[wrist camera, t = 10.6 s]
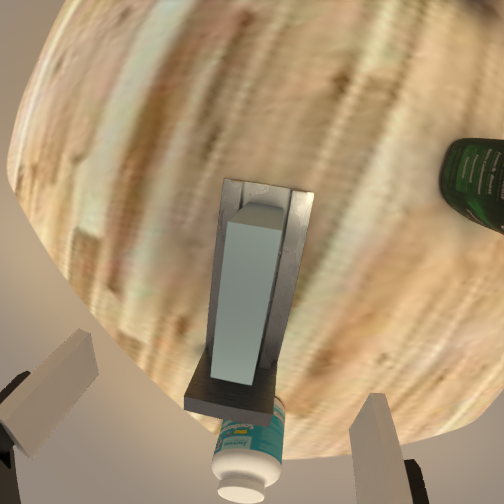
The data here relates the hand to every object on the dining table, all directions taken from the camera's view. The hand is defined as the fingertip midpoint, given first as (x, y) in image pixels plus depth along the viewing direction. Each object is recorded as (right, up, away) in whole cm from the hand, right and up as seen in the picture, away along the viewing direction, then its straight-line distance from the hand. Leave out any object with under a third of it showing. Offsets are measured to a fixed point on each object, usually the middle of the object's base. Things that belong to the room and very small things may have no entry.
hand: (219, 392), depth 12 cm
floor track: (+1, +3, +17) cm, 17 cm away
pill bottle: (+2, -14, +22) cm, 26 cm away
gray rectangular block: (+2, +5, +16) cm, 16 cm away
